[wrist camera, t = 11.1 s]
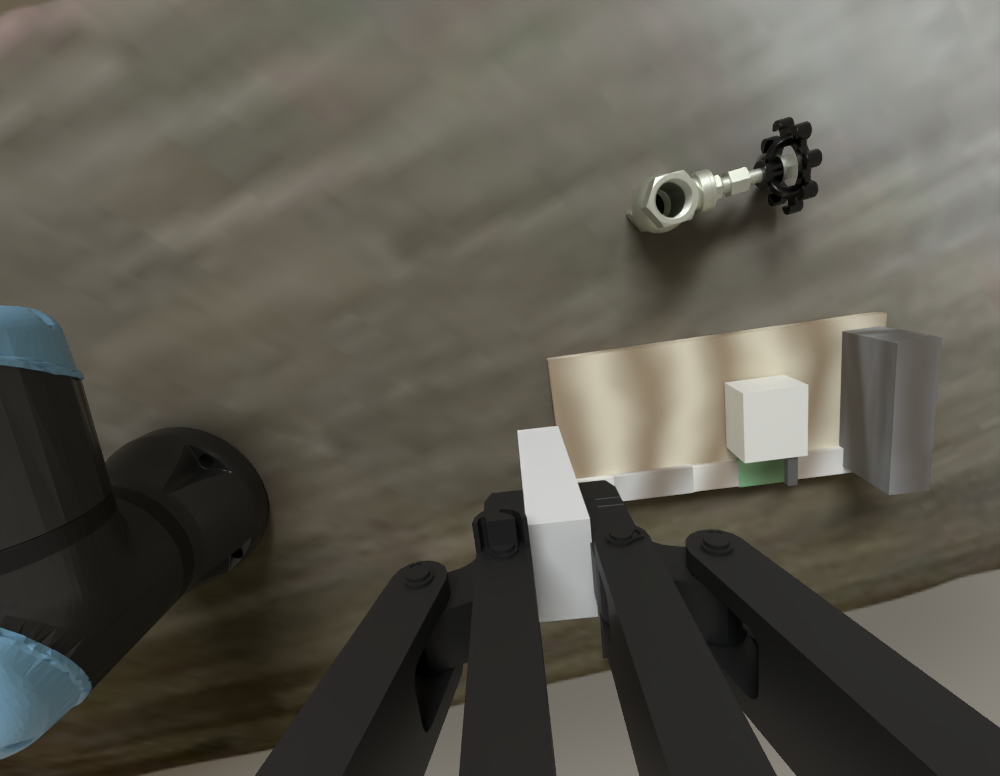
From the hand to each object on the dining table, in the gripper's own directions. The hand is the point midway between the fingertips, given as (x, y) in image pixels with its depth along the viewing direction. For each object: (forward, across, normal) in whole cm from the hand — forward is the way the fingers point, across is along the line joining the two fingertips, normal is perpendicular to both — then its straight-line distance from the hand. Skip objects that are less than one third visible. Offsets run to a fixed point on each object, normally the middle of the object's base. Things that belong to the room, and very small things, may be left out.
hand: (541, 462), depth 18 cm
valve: (+26, +16, +11) cm, 32 cm away
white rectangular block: (+24, +20, -9) cm, 32 cm away
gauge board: (+25, +17, -8) cm, 31 cm away
